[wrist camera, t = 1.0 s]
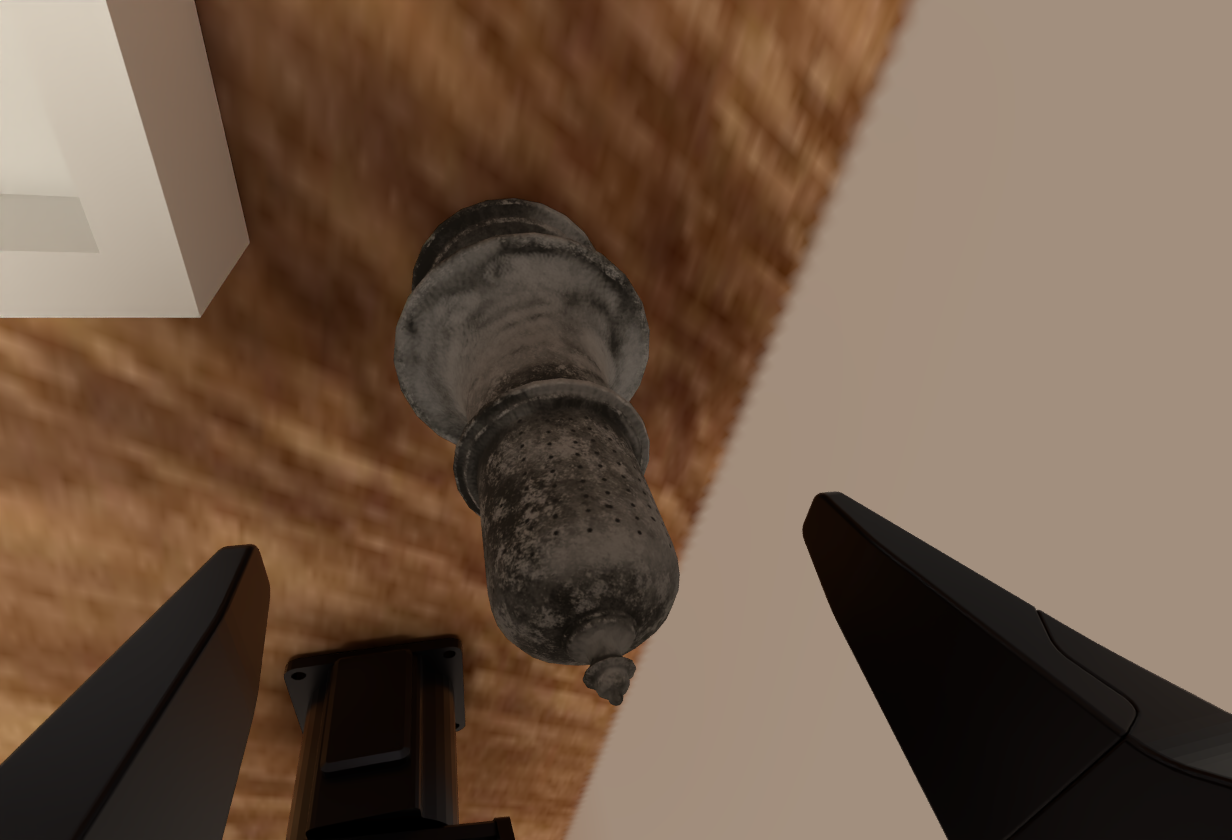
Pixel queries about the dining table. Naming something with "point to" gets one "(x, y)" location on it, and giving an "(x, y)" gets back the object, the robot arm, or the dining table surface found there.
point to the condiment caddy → (111, 162)
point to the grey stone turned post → (543, 429)
